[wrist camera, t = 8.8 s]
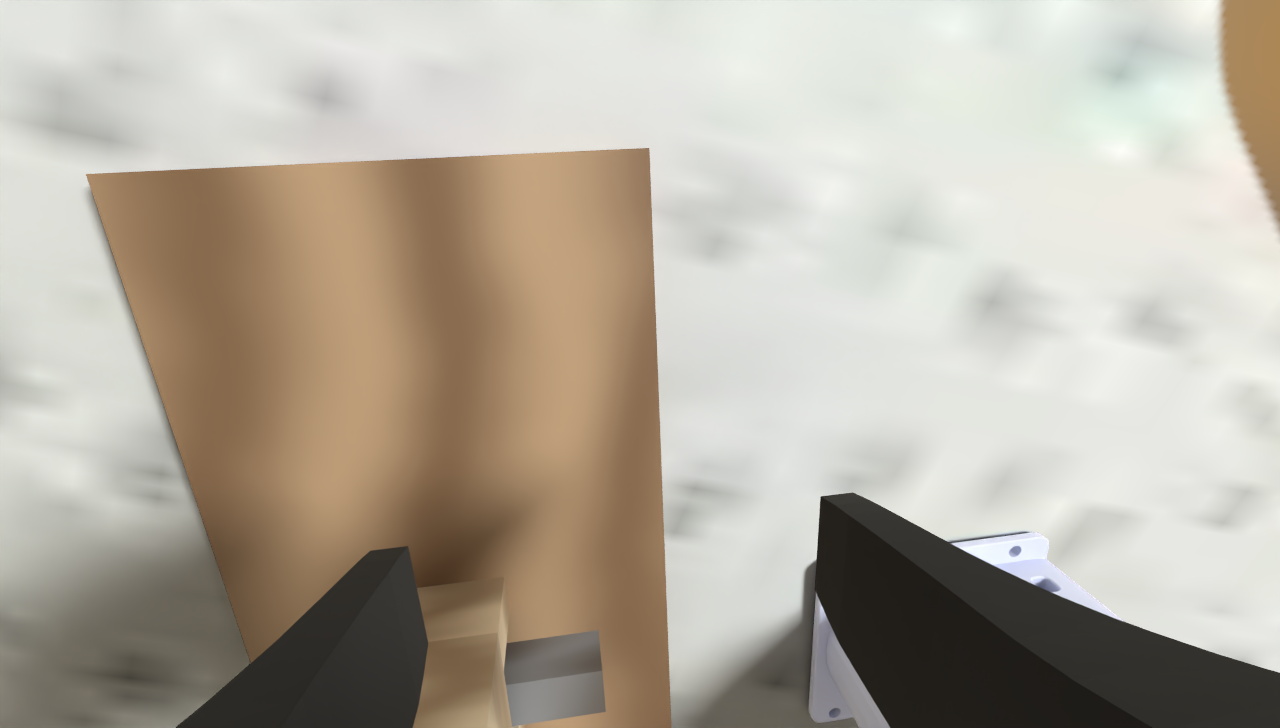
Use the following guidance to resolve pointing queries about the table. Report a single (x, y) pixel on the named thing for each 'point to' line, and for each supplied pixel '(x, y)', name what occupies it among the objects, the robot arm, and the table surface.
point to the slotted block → (465, 656)
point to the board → (422, 394)
